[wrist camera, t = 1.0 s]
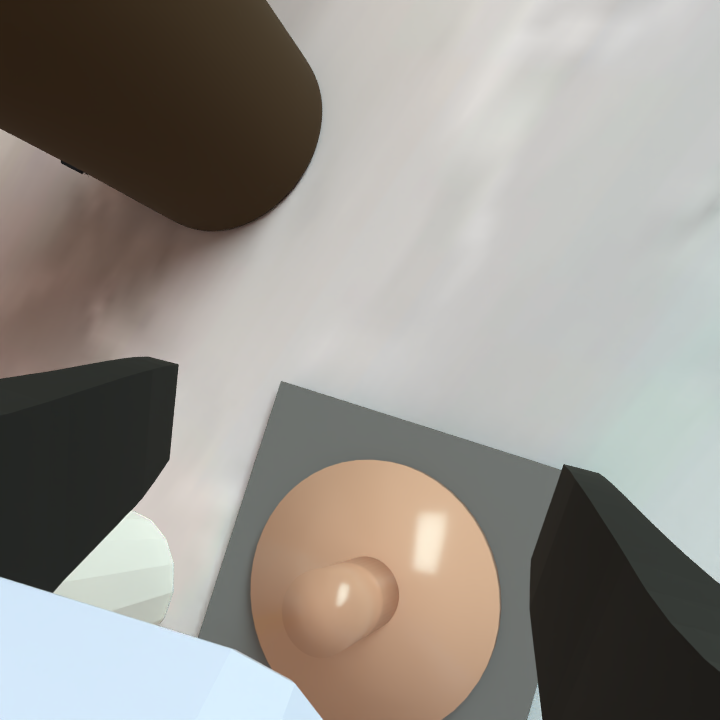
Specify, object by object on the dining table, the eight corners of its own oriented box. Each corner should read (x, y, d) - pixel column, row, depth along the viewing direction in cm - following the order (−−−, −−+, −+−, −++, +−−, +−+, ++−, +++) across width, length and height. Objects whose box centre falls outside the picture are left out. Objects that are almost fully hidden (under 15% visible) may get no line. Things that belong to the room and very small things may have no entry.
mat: (491, 843, 21) (486, 857, 20) (195, 676, 26) (183, 682, 25) (595, 481, 22) (595, 480, 21) (290, 384, 26) (281, 381, 26)
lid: (455, 782, 21) (416, 855, 17) (228, 660, 24) (150, 696, 20) (534, 509, 21) (515, 515, 17) (301, 429, 25) (240, 418, 21)
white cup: (215, 553, 26) (85, 575, 20) (133, 700, 26) (-22, 769, 20) (105, 465, 29) (-40, 459, 23) (32, 599, 29) (-133, 631, 23)
